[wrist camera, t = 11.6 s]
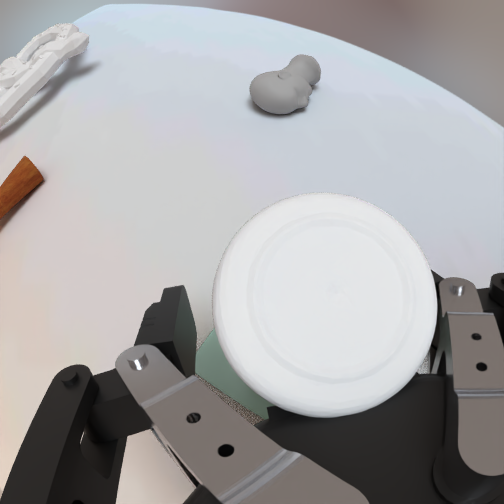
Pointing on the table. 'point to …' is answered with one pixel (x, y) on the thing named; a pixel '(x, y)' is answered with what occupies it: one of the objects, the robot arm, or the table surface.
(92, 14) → the table surface
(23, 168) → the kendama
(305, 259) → the sprinkles bottle
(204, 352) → the pad
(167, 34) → the table surface
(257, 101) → the grey figurine
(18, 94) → the pretzel
